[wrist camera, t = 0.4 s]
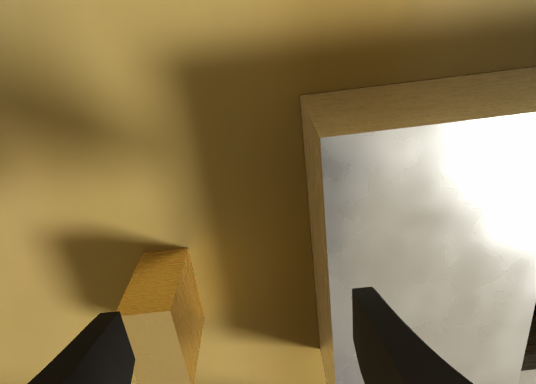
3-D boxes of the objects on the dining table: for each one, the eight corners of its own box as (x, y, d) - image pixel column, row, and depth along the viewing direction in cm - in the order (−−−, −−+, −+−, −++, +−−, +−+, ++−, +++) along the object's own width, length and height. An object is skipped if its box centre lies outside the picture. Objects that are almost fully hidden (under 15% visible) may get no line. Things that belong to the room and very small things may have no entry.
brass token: (204, 317, 24) (192, 390, 20) (163, 321, 24) (142, 395, 20) (187, 247, 22) (170, 310, 17) (142, 252, 22) (113, 316, 17)
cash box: (642, 315, 25) (762, 412, 19) (320, 349, 25) (339, 454, 19) (742, 41, 18) (978, 59, 12) (299, 95, 18) (320, 137, 13)
